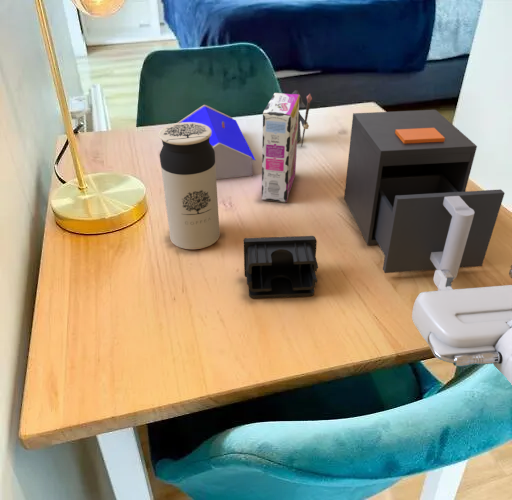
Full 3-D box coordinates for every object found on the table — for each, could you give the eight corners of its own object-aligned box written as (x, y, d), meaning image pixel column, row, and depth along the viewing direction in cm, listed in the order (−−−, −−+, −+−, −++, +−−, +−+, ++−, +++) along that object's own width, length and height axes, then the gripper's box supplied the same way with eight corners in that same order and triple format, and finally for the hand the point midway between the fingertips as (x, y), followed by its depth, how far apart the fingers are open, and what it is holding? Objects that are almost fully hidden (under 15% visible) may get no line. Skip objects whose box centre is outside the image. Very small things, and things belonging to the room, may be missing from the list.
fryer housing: (452, 239, 81) (478, 142, 71) (367, 245, 80) (381, 147, 70) (418, 194, 93) (436, 106, 83) (343, 198, 92) (353, 109, 82)
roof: (256, 175, 100) (255, 140, 96) (185, 182, 98) (182, 146, 93) (236, 133, 118) (235, 101, 113) (176, 138, 115) (172, 106, 111)
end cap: (311, 265, 75) (313, 227, 72) (318, 296, 70) (321, 256, 66) (244, 268, 75) (243, 229, 71) (245, 299, 69) (244, 259, 65)
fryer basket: (498, 287, 69) (525, 212, 62) (396, 295, 68) (411, 219, 61) (440, 213, 85) (456, 146, 78) (356, 218, 84) (365, 151, 77)
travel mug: (171, 225, 85) (158, 122, 75) (218, 222, 86) (212, 119, 75) (169, 252, 78) (154, 143, 68) (220, 249, 79) (214, 141, 69)
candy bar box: (288, 203, 91) (291, 114, 81) (260, 201, 91) (260, 112, 82) (297, 175, 100) (300, 92, 90) (272, 173, 100) (273, 91, 91)
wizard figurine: (275, 141, 113) (275, 88, 106) (288, 133, 117) (289, 81, 110) (307, 150, 109) (310, 95, 102) (319, 141, 113) (323, 88, 106)
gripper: (434, 388, 50) (389, 298, 61) (627, 370, 52) (549, 285, 63) (448, 343, 46) (397, 255, 58) (655, 324, 48) (566, 243, 59)
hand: (478, 271), depth 60 cm, fingers open, 8 cm apart
